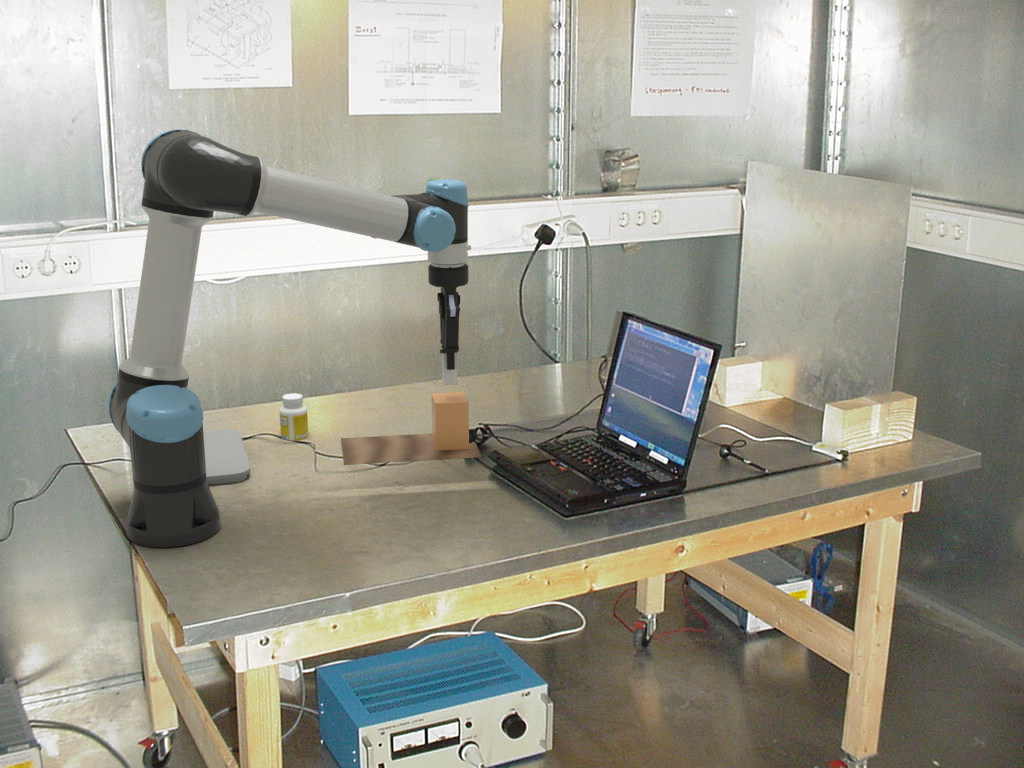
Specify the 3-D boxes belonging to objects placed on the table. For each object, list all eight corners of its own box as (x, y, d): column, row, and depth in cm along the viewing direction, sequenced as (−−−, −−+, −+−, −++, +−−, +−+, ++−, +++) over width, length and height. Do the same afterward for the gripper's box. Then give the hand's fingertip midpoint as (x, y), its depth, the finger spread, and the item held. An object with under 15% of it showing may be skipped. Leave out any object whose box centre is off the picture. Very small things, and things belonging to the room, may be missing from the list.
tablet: (239, 438, 250) (238, 427, 249) (252, 483, 226) (252, 472, 225) (156, 446, 245) (155, 435, 244) (161, 493, 221) (160, 481, 221)
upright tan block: (435, 450, 237) (435, 403, 235) (432, 439, 243) (431, 393, 241) (468, 449, 238) (468, 401, 236) (464, 438, 245) (464, 391, 242)
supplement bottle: (311, 438, 248) (309, 392, 245) (304, 448, 243) (302, 400, 240) (285, 437, 249) (283, 391, 246) (277, 447, 244) (275, 399, 241)
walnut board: (344, 472, 230) (343, 464, 230) (341, 445, 245) (340, 438, 244) (481, 464, 235) (481, 457, 234) (470, 438, 249) (470, 431, 248)
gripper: (473, 269, 225) (474, 393, 232) (463, 256, 237) (464, 373, 244) (432, 271, 224) (434, 395, 231) (424, 257, 236) (427, 375, 243)
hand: (450, 383), depth 237 cm, fingers closed
